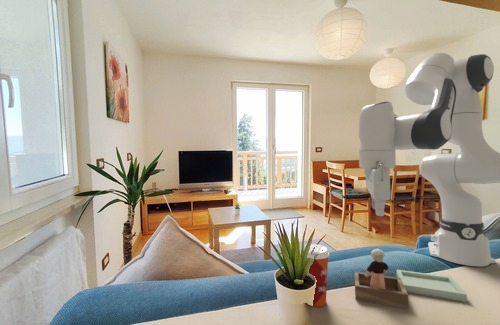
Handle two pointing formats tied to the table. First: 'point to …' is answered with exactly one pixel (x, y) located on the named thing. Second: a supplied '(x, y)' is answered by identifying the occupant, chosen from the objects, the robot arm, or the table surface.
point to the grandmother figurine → (377, 269)
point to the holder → (381, 291)
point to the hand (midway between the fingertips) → (377, 211)
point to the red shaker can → (319, 273)
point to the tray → (431, 285)
